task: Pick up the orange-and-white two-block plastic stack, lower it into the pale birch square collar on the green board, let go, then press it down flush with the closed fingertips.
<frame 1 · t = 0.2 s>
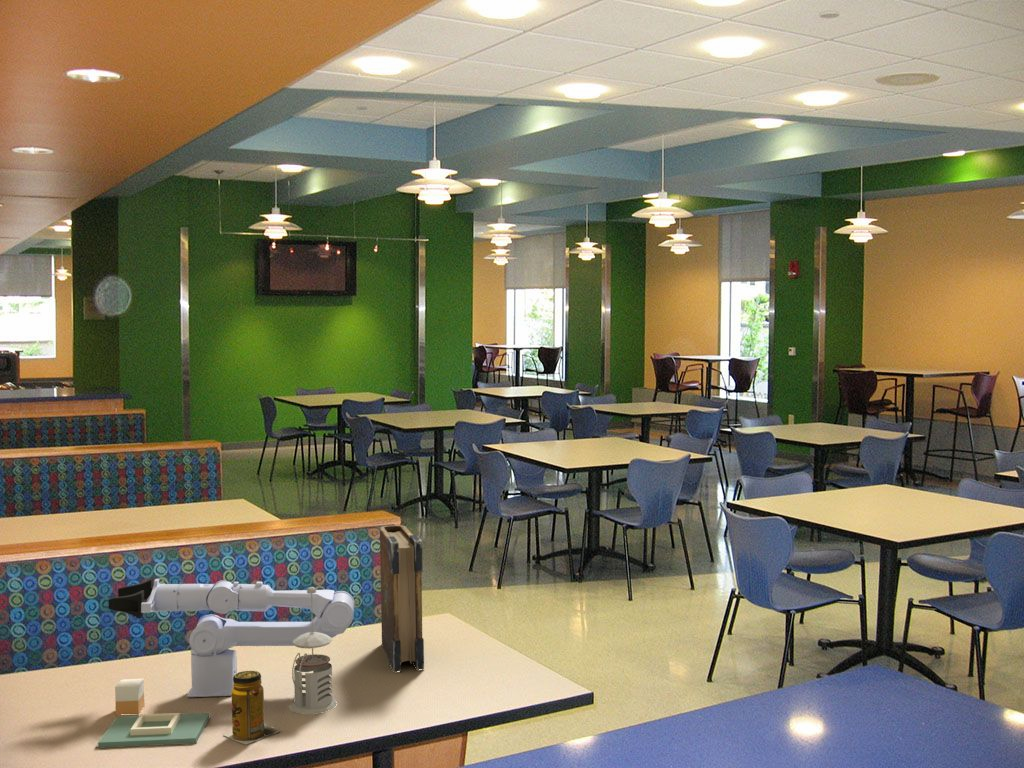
hand: (113, 598, 220), 21 cm above the table, tool horizontal, fingers open, 7 cm apart
base plate: (155, 732, 201), on the table
brick stack: (130, 711, 212), on the table
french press: (311, 707, 214), on the table
condiment: (252, 735, 200), on the table
decorative book: (400, 656, 246), on the table
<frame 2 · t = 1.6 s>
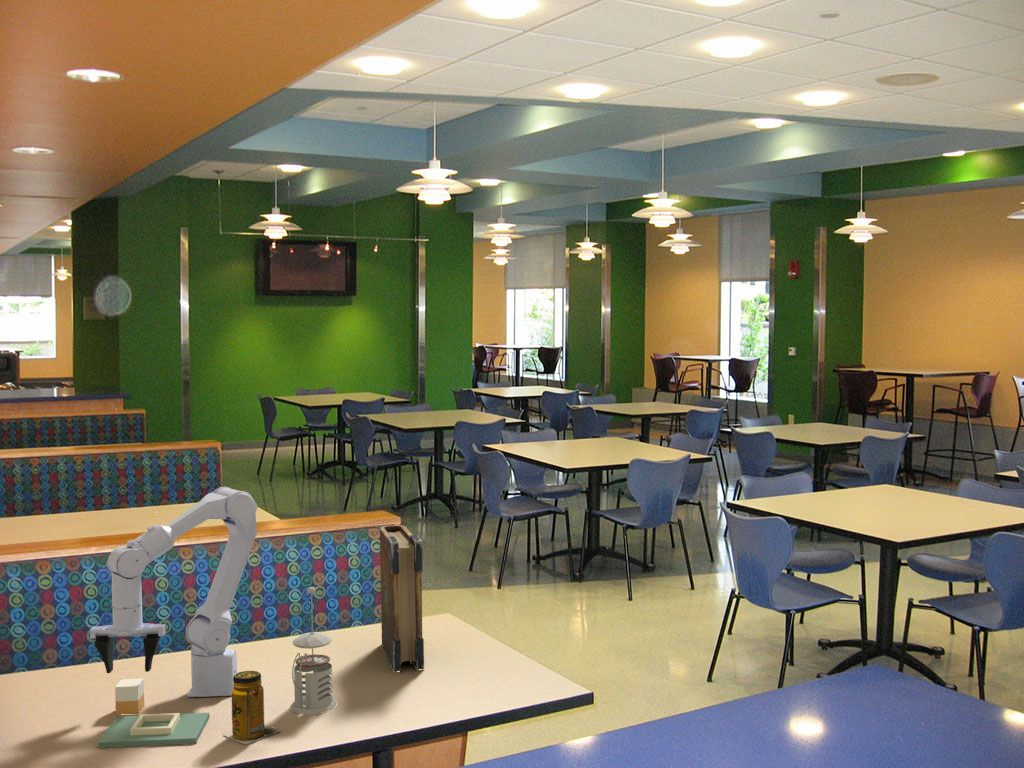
hand: (129, 670, 212), 8 cm above the table, tool pointing down, fingers open, 7 cm apart
nothing on the table moved.
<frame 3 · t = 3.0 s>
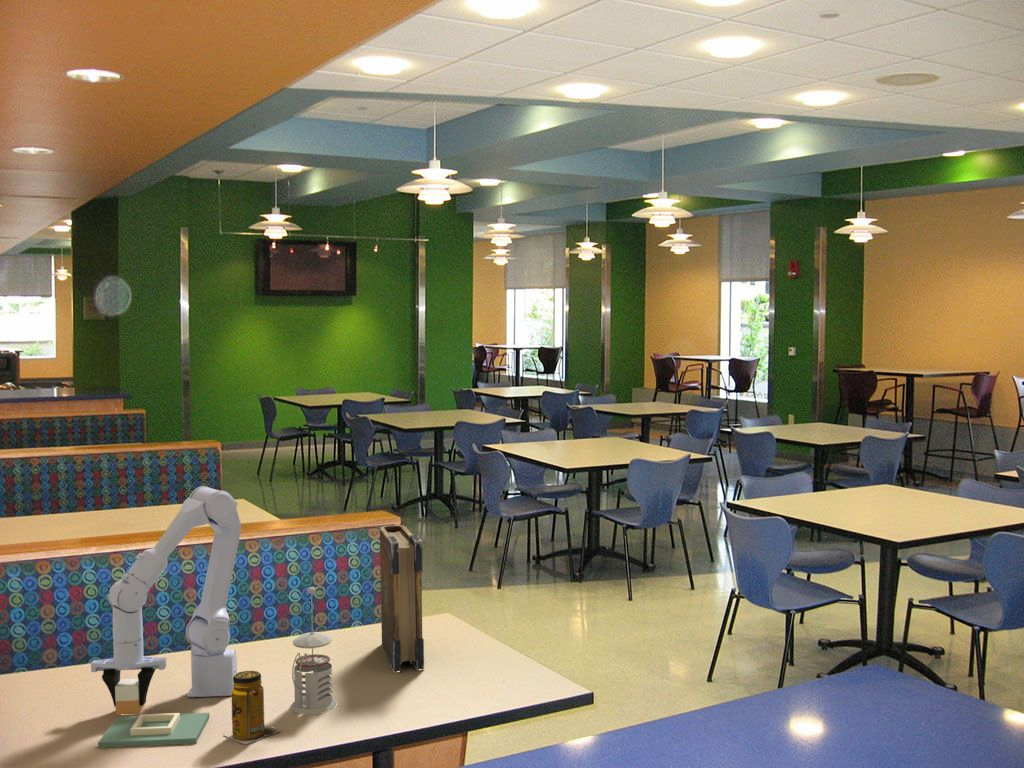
hand: (130, 704, 212), 1 cm above the table, tool pointing down, fingers closed on brick stack, 4 cm apart
brick stack: (130, 711, 212), on the table, touching gripper
everything else where it was.
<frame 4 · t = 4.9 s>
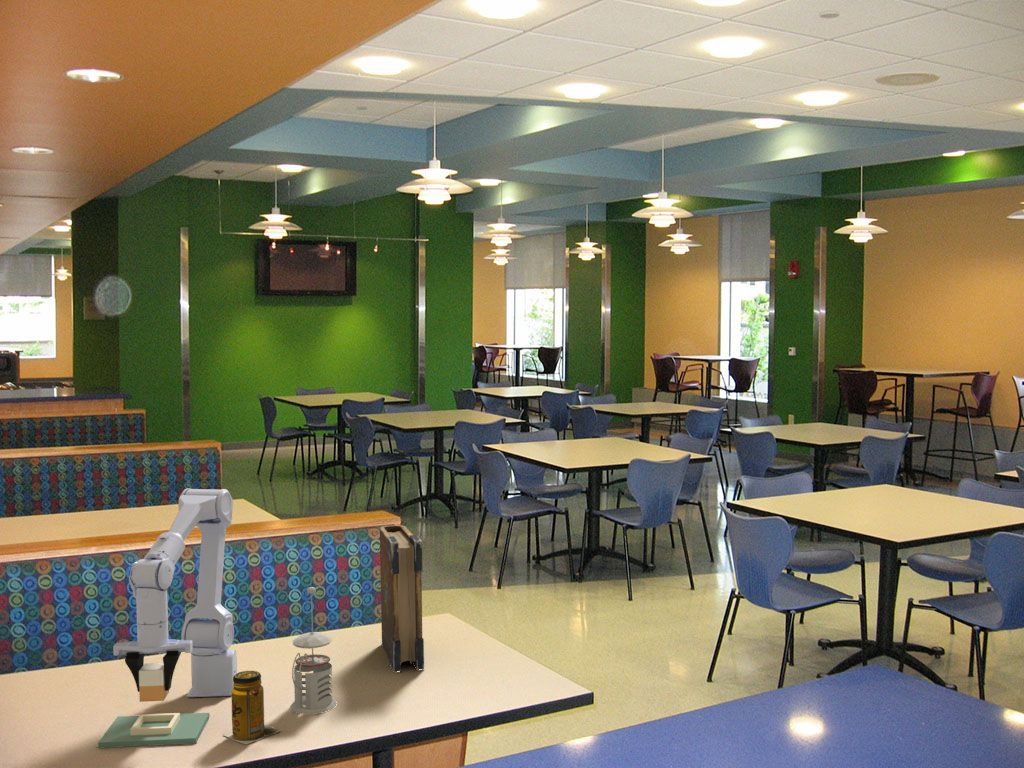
hand: (154, 689, 200), 8 cm above the table, tool pointing down, fingers closed on brick stack, 4 cm apart
brick stack: (154, 697, 200), point 7 cm above the table, touching gripper
everything else where it was.
when the fingers open (3 cm above the table, at t = 7.1 s): brick stack stays where it is, resting on base plate.
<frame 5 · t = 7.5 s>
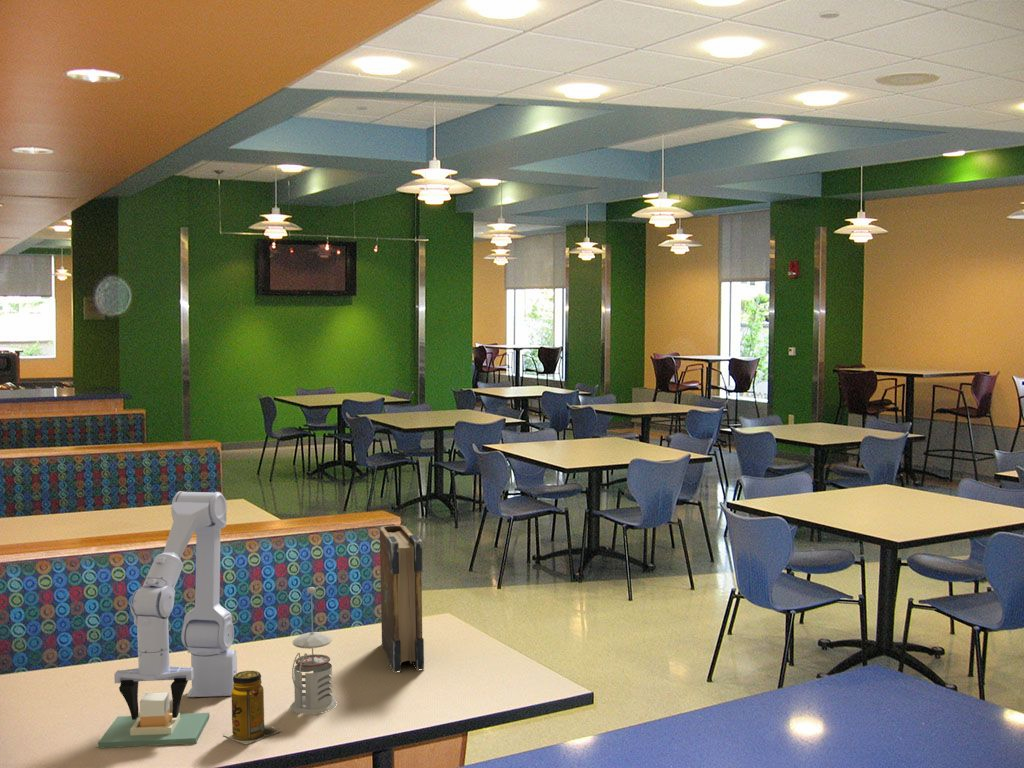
hand: (155, 716, 201), 3 cm above the table, tool pointing down, fingers open, 7 cm apart
brick stack: (155, 727, 201), point 1 cm above the table, touching base plate
everything else where it was.
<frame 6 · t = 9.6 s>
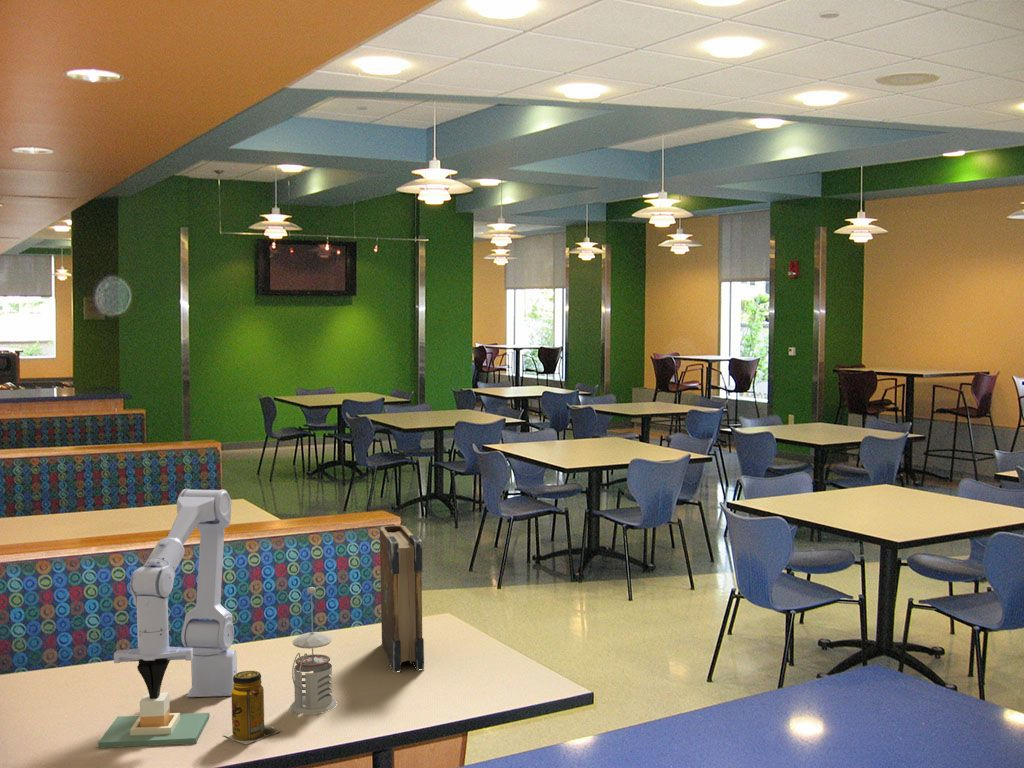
hand: (154, 697, 200), 7 cm above the table, tool pointing down, fingers closed, pressing on brick stack
brick stack: (155, 727, 201), point 1 cm above the table, touching base plate, gripper
everything else where it was.
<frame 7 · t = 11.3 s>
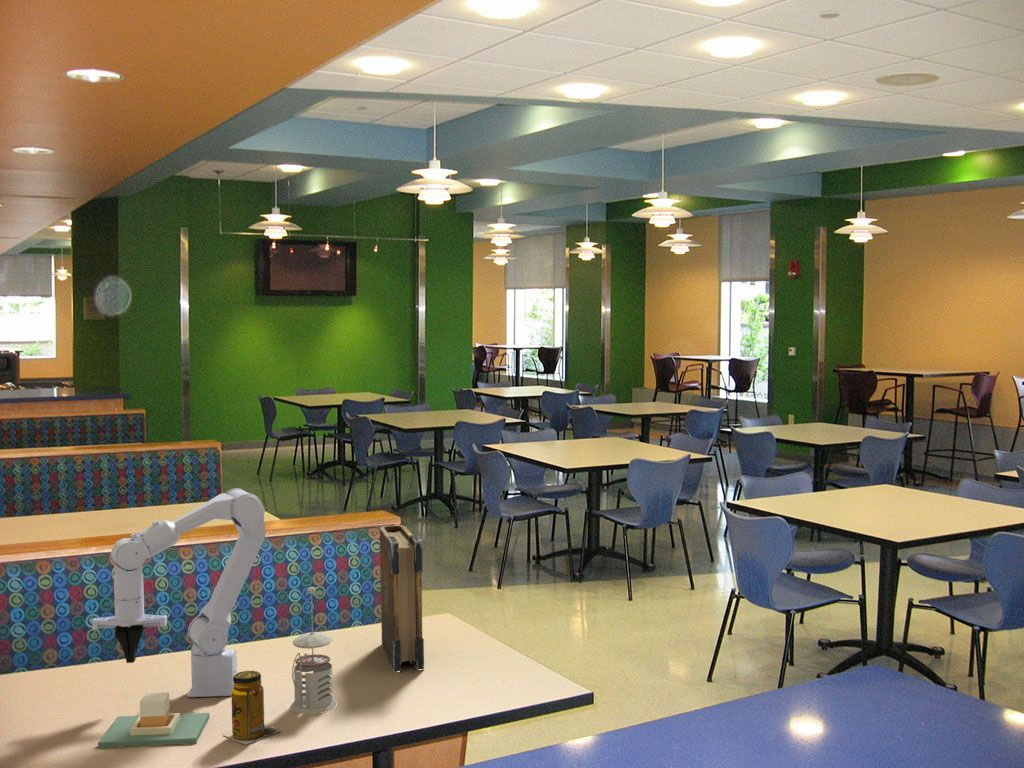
hand: (131, 661, 214), 9 cm above the table, tool pointing down, fingers closed
brick stack: (155, 727, 201), point 1 cm above the table, touching base plate
everything else where it was.
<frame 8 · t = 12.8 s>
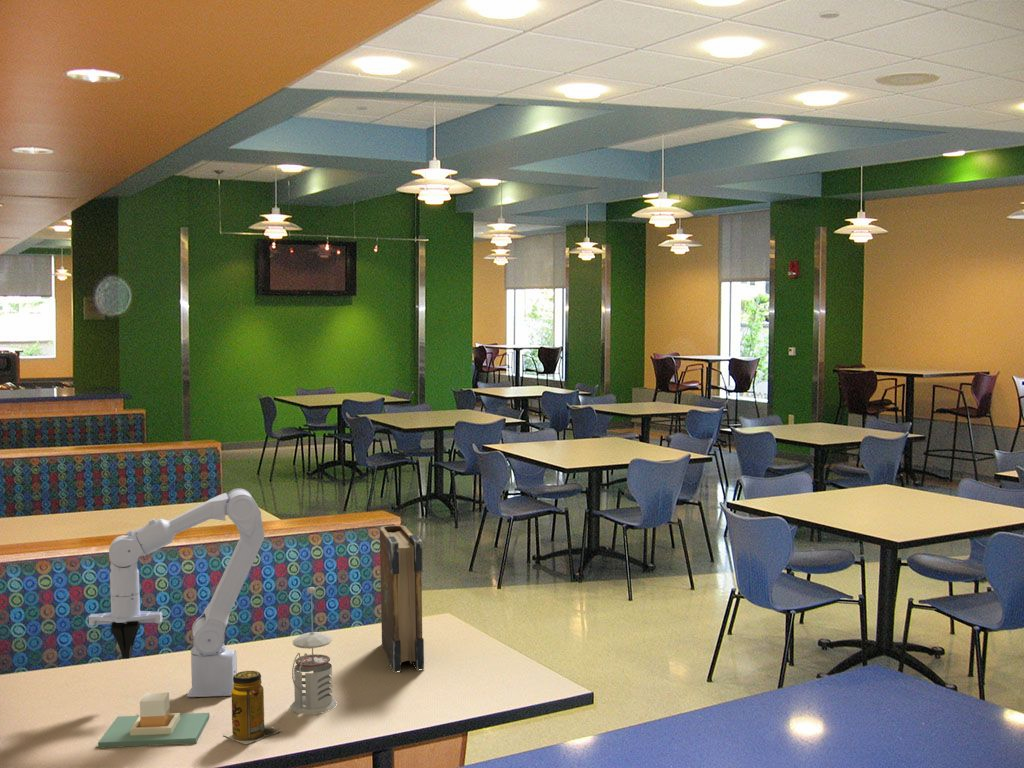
hand: (126, 657, 217), 9 cm above the table, tool pointing down, fingers closed
nothing on the table moved.
at the end: brick stack 0.0 cm off-centre on the base plate, point 1.0 cm above the base plate's base; brick stack tilted 0°; the gripper is holding nothing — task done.
